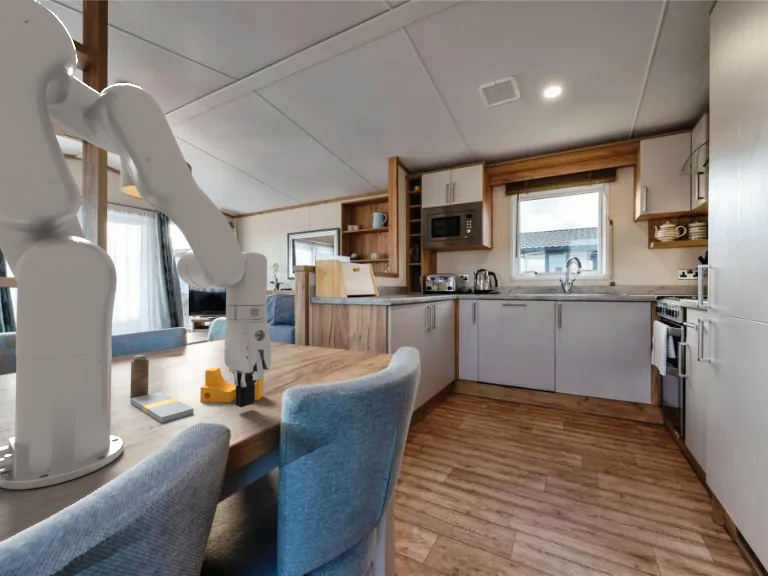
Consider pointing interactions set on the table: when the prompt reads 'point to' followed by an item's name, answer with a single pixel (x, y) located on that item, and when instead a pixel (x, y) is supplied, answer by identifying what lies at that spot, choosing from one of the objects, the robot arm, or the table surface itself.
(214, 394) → the pipe clamp
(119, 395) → the table surface
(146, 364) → the peg
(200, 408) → the table surface
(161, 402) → the board
